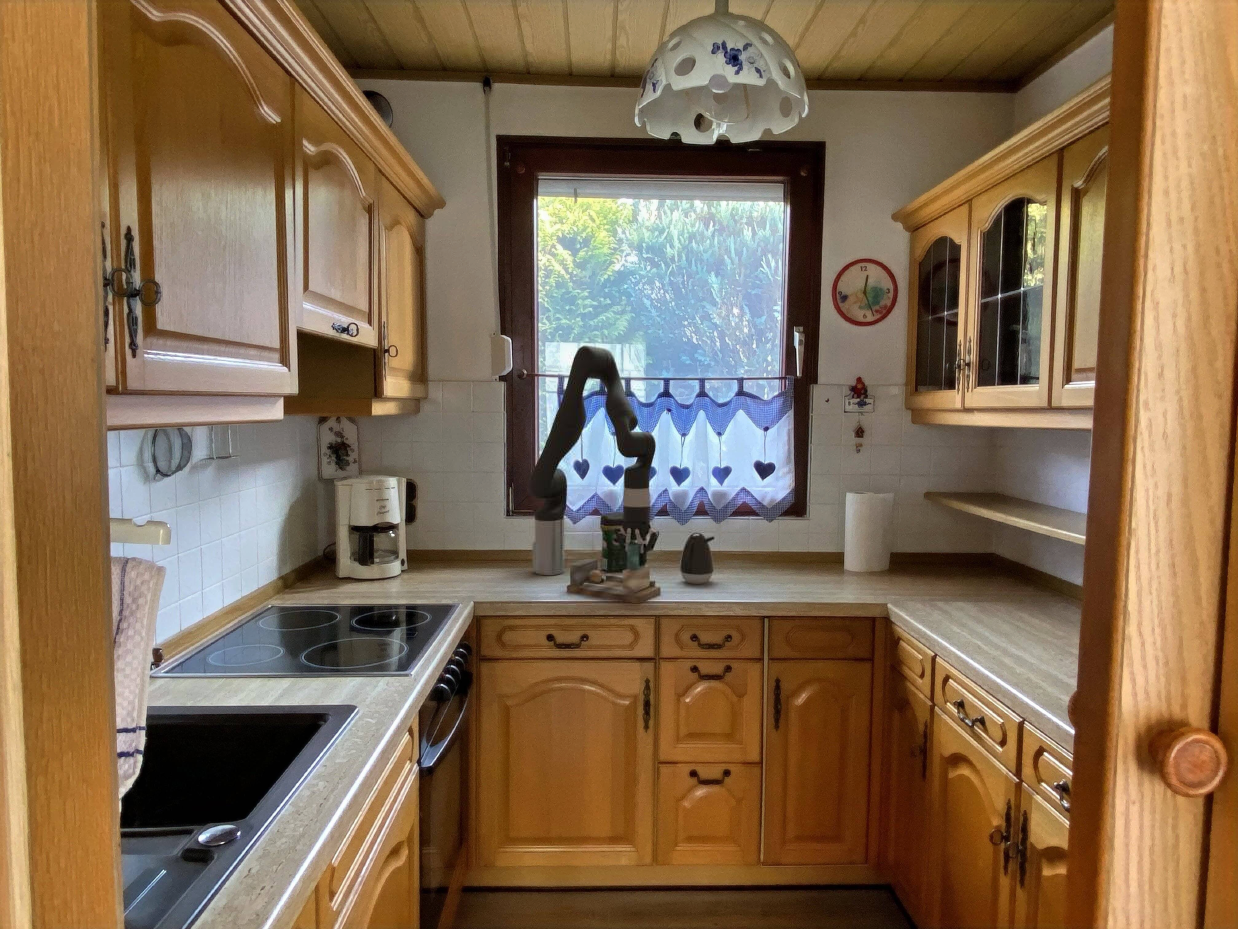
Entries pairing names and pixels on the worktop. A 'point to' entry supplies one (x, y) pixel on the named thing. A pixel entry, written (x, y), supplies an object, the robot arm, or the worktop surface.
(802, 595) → the worktop surface
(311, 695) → the worktop surface
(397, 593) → the worktop surface
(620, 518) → the coffee jar
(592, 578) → the walnut
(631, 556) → the sliding jaw
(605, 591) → the base
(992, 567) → the worktop surface
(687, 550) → the pump dispenser
